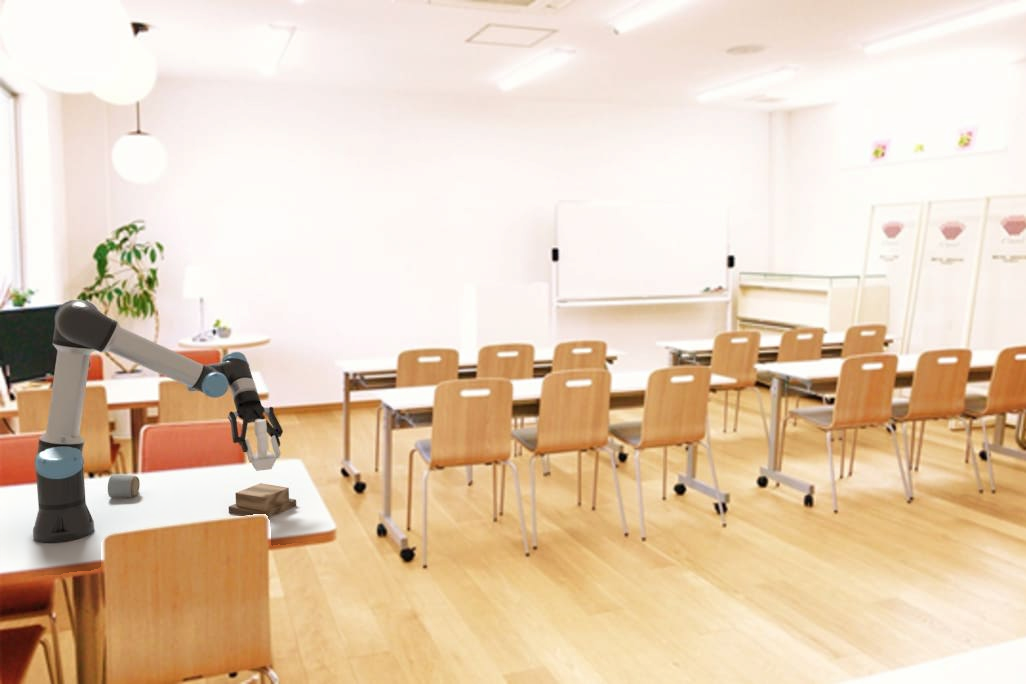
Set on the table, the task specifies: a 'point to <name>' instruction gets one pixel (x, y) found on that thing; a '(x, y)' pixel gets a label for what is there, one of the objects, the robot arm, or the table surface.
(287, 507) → the walnut plinth
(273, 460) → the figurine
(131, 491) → the ceramic mug
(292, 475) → the table surface
